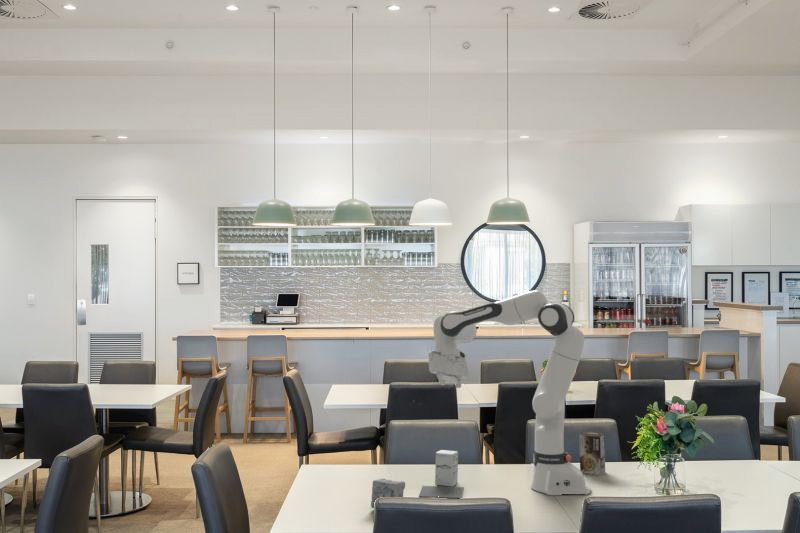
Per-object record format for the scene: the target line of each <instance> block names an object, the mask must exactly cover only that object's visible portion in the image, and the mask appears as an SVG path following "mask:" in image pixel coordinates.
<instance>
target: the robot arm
mask: <svg viewBox="0 0 800 533" xmlns="http://www.w3.org/2000/svg"><path fill="white" fill-rule="evenodd" d="M533 319H537V321H538V323H539V325H540V326H541V327H542V328H543V329H544V330H545V331H546V332H548V333H550V334H551V335H552V336H554V343H553V345H552V349H551V351H550V354H549V357H548V358H547V362H546V365H545V367H544V370H543V373H542V375H541V378H540V380H539V383H538V385H537V387H536V390H535V392H534V395H533V396H532V397H533V398H532V402H531V403H532V404H531V405H532V410H533V412H534V413H535V424H534V425H535V426H534V450H533V454H532V456H533V458H532V459H533V466H534V468H533V469H534V470H533V475H532V476H533V477H532V482H531V485H530V488H531V489H532V490H534V491H536V492H539V493H543V494H546V495H548V496H563V495H562V494H585V495H590V494H591V493H592V488H591V485H590V484H589V483H587V482H586V481H585V476H584V473H582V472H581V471H580V468H578V467H576V466H575V464H573V463H571V461H572V456H571V455H570V453H568V452H567V451H566V450H565V441H564V440H565V439H564V438H565V434H564V432H565V431H564V430H565V429H564V428H565V410H566V409H565V405H566V397H567V394H568V392H569V389H570V387H571V385H572V382H573V379H574V376H575V373H576V371H577V369H578V366H579V363H580V359H581V357H582V354H583V351H584V345H585V340H586V339H585V335H584V333H583V332H582V330H580V329H579V328H577V327H575V326H574V325H573V324H574V321H575V314H574V311H573V310H572V309H571V307H569V305H567V304H564V303H560V302H549V301H548V299H547V296H546V295H545V294H544V293H543V292H542V291H541V290H539V289H538V290H536V289H535V290H530V291H525V292H521V293H519V294H518V293H517V294H516V295H512V296H510V297H508V298H504V299H501V300H498V301H497V300H496V301H494V302H489V303H486V304H483V305H478V306H476V307H471V308H468V309H466V310H461V311H458V310H457V311H456V310H455V311H454V310H453V311H452V310H451V311H448V312H446V313H444V314H443V315H440V316H437V317H436V318H435V319H434V322H433V339H434V341H435V350H431V351H429V353H428V356H429V357H428V371H429V372H430V373H431V374H434V375H436V378H437V379H438V381H439V385H440V386H444V385H446V379H444V377H443V376H445V377H450V378H455V379H456V383H455V388H457V389H460V388H462V382H463V379H467V378H468V376H469V367H468V362H467V361H466V359H467V355H466V353H464V352H462V351H461V350H460V349H459V348H458V347H457V344H465V343H470V342H471V341H473V340H474V339H475V337H476V335H477V332H478V331H477V326H476V325H477V324H480V323H483V322H494V323H495V322H496V323H500V324H503V325H507V326H514V325H518V324H523V323H525V322H527V321H530V320H533Z"/></svg>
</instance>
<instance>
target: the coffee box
mask: <svg viewBox="0 0 800 533" xmlns="http://www.w3.org/2000/svg"><path fill="white" fill-rule="evenodd" d="M578 437H579V439H578V440H579V470H580V471H581V472H582V473H583V474H585V473H589V474H588V475H592V474H595V475H594V476H603V475H604V474H605V473H606V445H605V444H606V441H605V440H606V439H605V433H601V432H600V433H599V432H591V431H590V432H589V431H583V432H581V433H580V434H579V435H578Z"/></svg>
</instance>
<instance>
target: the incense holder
mask: <svg viewBox="0 0 800 533" xmlns="http://www.w3.org/2000/svg"><path fill="white" fill-rule="evenodd" d="M371 487H372V488H371V501H370V503H371V504H370V507H371V508H372V509H375V508H374V502H375V500H376V499H377V498H380V497H403V498H404V490H405V488H406V482H405V481H402V480H401V481H397V480H396V481H395V480H391V479H390V480H389V479H386V478H382V477H381V478H379V479H378V478H377V479H373V480H372V486H371Z"/></svg>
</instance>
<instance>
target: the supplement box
mask: <svg viewBox="0 0 800 533" xmlns="http://www.w3.org/2000/svg"><path fill="white" fill-rule="evenodd" d="M434 464H435V472H434V473H435V475H434V480H435V481H434V483H435V484H434V485H435V486H442V487H455V485H457V484H458V479H459V478H458V474H459V473H458V472H459V451H457V450H449V449H448V450H447V449H440V450H438V451H436V452H435V463H434Z"/></svg>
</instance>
